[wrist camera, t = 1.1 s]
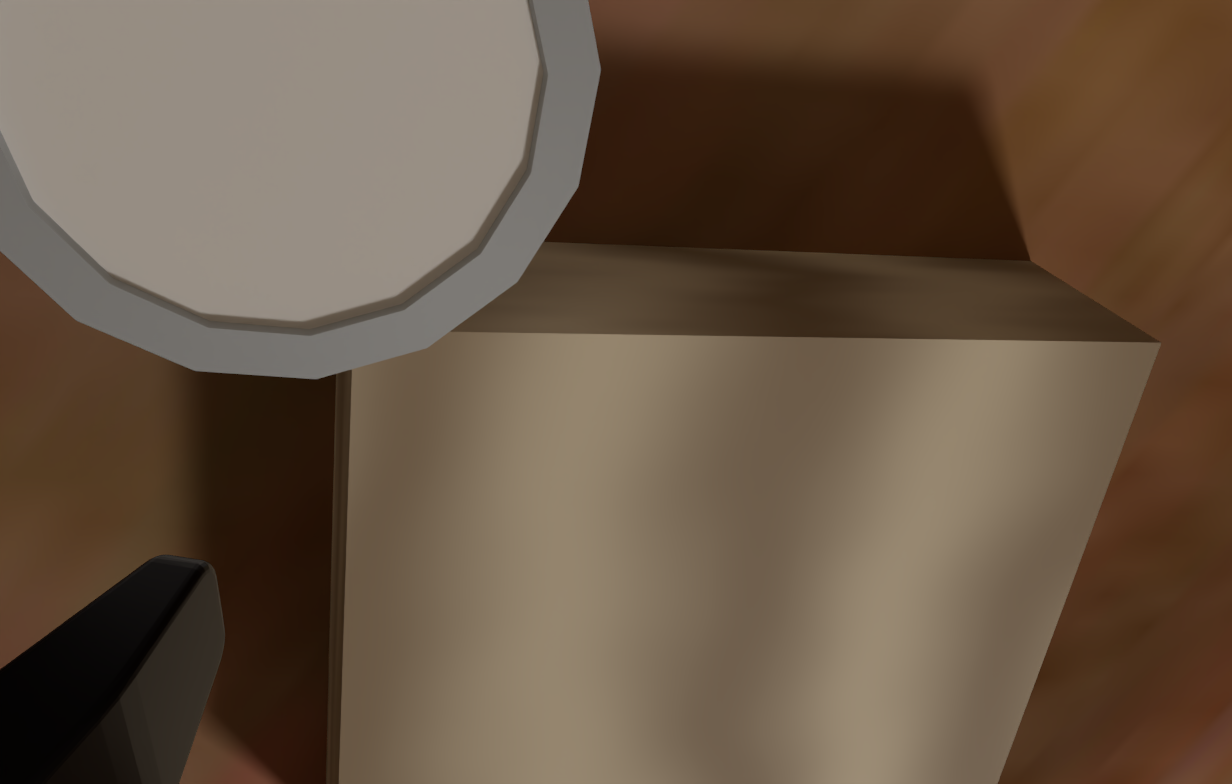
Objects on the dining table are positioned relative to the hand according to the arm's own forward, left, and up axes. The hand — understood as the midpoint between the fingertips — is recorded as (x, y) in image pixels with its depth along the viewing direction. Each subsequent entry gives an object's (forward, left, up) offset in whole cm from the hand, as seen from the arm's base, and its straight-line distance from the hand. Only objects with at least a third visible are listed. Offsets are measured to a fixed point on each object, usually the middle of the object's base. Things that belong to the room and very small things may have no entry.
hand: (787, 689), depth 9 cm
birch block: (+4, -8, -14) cm, 16 cm away
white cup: (-4, +3, -13) cm, 14 cm away
